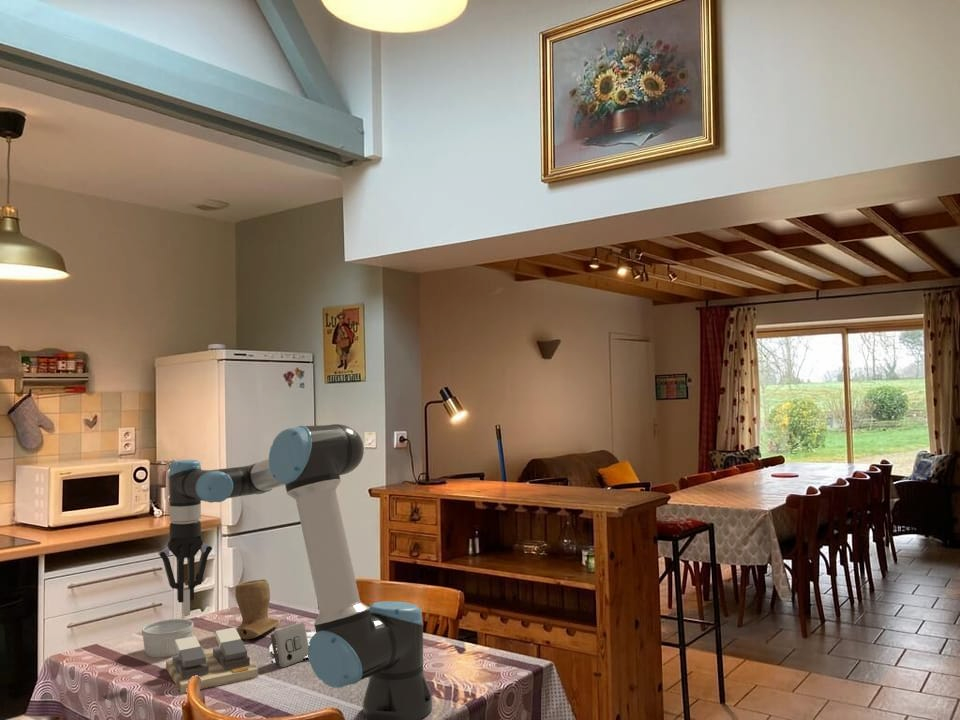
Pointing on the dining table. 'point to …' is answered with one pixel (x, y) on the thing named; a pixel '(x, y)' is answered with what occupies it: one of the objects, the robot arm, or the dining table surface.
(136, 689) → the dining table surface
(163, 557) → the robot arm
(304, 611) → the dining table surface
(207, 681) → the switch board
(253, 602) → the tan piece
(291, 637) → the electrical switch
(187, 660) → the rocker
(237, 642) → the rocker
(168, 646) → the ramekin
